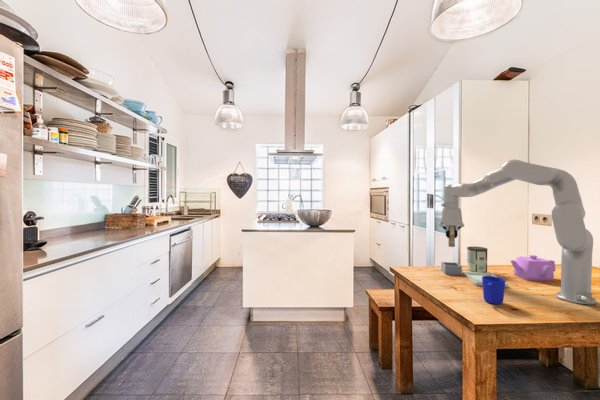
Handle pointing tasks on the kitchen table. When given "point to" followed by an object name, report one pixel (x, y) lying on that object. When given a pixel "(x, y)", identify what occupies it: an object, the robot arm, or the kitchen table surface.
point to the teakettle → (534, 268)
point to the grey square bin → (451, 268)
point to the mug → (493, 289)
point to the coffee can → (477, 259)
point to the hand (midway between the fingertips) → (451, 237)
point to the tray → (479, 277)
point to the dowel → (451, 236)
